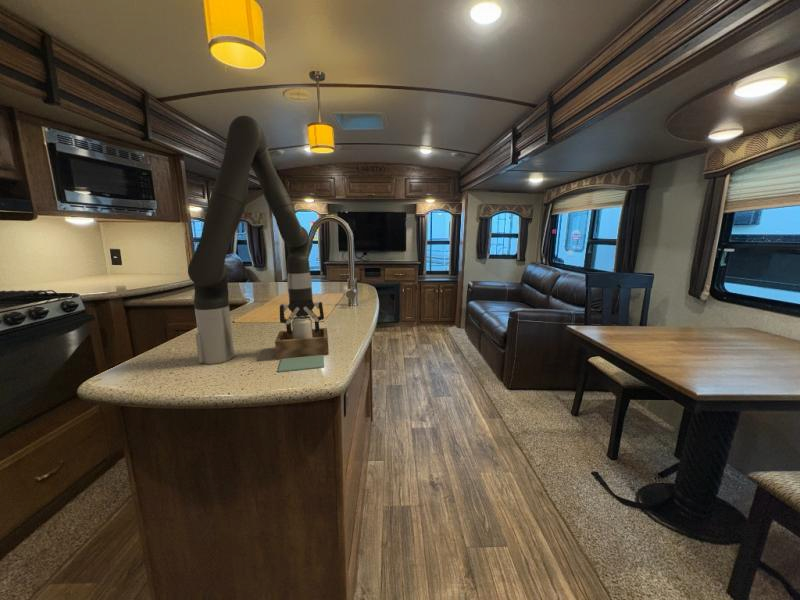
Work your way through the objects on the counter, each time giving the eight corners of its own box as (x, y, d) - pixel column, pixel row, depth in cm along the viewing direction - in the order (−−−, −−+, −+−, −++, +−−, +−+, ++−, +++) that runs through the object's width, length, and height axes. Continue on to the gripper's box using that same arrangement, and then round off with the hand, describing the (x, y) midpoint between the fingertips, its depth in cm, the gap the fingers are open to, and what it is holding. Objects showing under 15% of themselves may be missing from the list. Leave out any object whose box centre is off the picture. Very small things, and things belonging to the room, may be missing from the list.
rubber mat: (278, 372, 89) (277, 371, 89) (281, 359, 98) (281, 358, 98) (324, 367, 92) (324, 366, 92) (323, 356, 101) (323, 354, 101)
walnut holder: (276, 359, 98) (275, 341, 97) (280, 347, 110) (279, 331, 109) (328, 354, 103) (327, 337, 102) (327, 343, 114) (326, 327, 113)
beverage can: (307, 354, 103) (305, 319, 101) (290, 353, 104) (288, 319, 102) (316, 348, 109) (314, 315, 107) (300, 347, 110) (298, 314, 108)
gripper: (275, 289, 97) (280, 338, 100) (322, 286, 101) (325, 334, 104) (278, 286, 104) (282, 331, 107) (321, 283, 108) (324, 328, 111)
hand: (303, 332), depth 106 cm, fingers open, 8 cm apart
